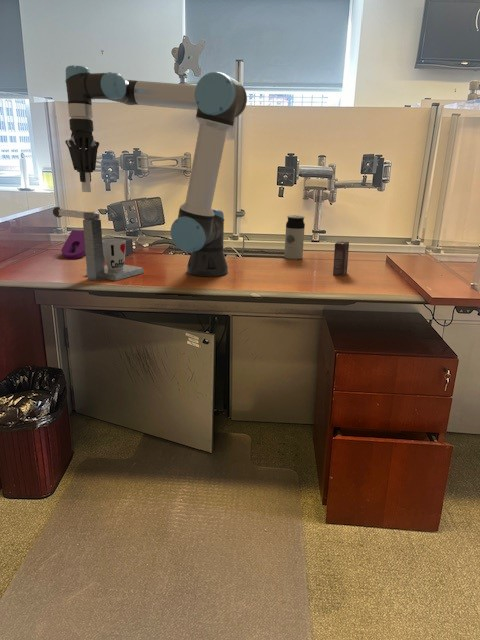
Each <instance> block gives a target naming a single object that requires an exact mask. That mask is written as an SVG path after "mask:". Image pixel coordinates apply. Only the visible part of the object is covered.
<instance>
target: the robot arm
mask: <svg viewBox="0 0 480 640" xmlns="http://www.w3.org/2000/svg"><path fill="white" fill-rule="evenodd" d="M64 82H65V84H66V85H65V86H66V93H67V96H66V97H67V107H68V108H67V109H68V116H69V120H68V122H69V123H68V124H69V130H70V131H71V134H70V138H69V139H66V140H65V141H64V142H65V144H66V146H67V148H68V152H69V154H70V155H69V156H70V158H71V159H70V160H71V163H72V166H73V170H74V171H76V172H77V173H79V181H80V183H81V192H82V193H92V186H91V183H92V173H94V171H96V167H97V160H98V159H97V156H98V149H99V146H100V142H99V141H96V140H95V139H94V136H93V132H94V121H93V120H92V119H93V105H92V104H93V103H92V102H93V101H92V100H107V101H112V102H117V103H121V104H125V105H128V106H147V107H148V106H149V107H158V108H160V107H161V108H168V109H169V108H171V109H179V110H180V109H182V110H190V111H196V114H195V115H196V116H195V119H196V121H197V122H198V124H199V127H198V133H197V137H196V141H195V142H196V143H195V148H194V154H193V159H192V163H191V164H192V165H191V169H190V176H189V181H188V187H187V191H186V197H185V202H184V203H183V204H181V205H180V206H179V209H178V215H177V218H176V219H175V220H173V222H172V224H171V227H170V238H171V240H172V242H173V244H174V245H175V246H176V247H177V248H178V249H179V250H181V251H183V252H187V253H190V256H189V260H188V263H187V265H186V272H187V274H189V275H191V276H196V277H219V276H224V275H226V274H228V272H229V266H228V263H227V260H226V256H225V253H224V237H225V235H224V232H225V230H224V229H225V228H224V227H225V225H224V224H225V218H224V217H225V216H224V211H223V210H220V209H212V206H213V202H214V201H213V200H214V196H215V192H216V191H215V190H216V187H217V186H216V185H217V182H218V176H219V170H220V167H221V163H222V162H221V161H222V158H223V152H224V148H225V142H226V139H227V138H226V137H227V133H228V131H230V130H231V129H232V128H233V127H234V125H235V119H236V118H237V117H239V116H240V115H242V114H243V112H244V111H245V109H246V107H247V103H248V96H247V91H246V89H245V86H243V84H242V83H241V82H239V81H238V80H236V79H234V78H232V77H231V76H230V75H228V73H227V74H226V73H224V72H220V71H212V72H208V73H206V74H204V75H203V76H201V78H200V79H199V80H198V81H197V83H196V84H185V83H175V82H174V83H171V82H159V81H158V82H157V81H146V80H145V81H144V80H135V79H134V80H133V79H126V78H124V77H123V76H122V75H121V73H119V72H110V71H108V72H95V73H91V71H90V69H89V67H87V66H83V65H73V64H72V65H68V66H66V67H65V81H64Z"/></svg>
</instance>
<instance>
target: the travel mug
mask: <svg viewBox="0 0 480 640" xmlns="http://www.w3.org/2000/svg"><path fill="white" fill-rule="evenodd" d="M286 217H287V221H286V224H285V235H284V236H285V237H284V238H285V239H284V255H283V257H284V258H285V259H287V260H294V261H295V260H301V259H303V253H304V243H305V227H306V224H305V221H304V220H305V218H306V216H304V215H300V214H299V215H297V214H292V215H291V214H290V215H287V216H286Z"/></svg>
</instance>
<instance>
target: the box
mask: <svg viewBox="0 0 480 640" xmlns="http://www.w3.org/2000/svg"><path fill="white" fill-rule="evenodd" d="M349 248H350V241H343V240H342V241H341V240H339V241H337V242H335V243H334V253H333V267H332V268H333V271H332V274H333V276H340V277H343V276H346V274H347V273H348V264H349V261H348V260H349V250H350V249H349Z"/></svg>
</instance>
